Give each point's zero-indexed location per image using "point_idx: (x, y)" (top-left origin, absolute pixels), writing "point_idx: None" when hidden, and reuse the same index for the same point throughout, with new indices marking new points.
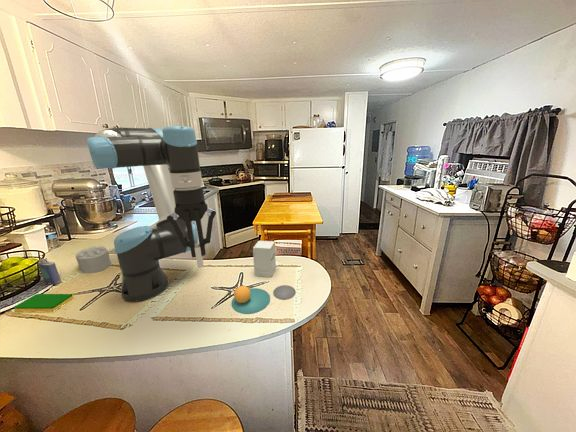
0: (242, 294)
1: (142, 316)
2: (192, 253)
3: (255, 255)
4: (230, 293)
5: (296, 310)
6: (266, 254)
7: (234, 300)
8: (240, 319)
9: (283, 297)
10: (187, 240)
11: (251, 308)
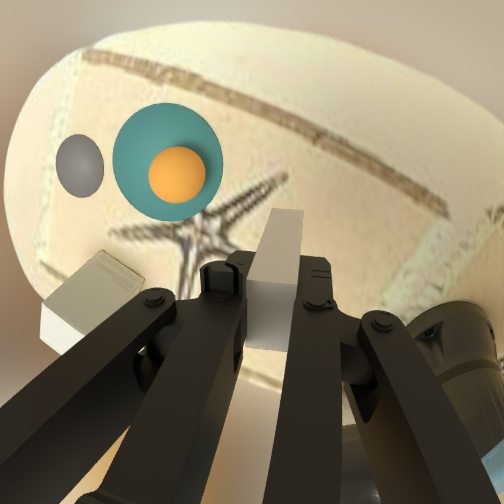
0: (170, 154)
1: (467, 234)
2: (322, 274)
3: (101, 317)
4: (221, 224)
5: (69, 86)
6: (65, 297)
7: (211, 180)
8: (204, 89)
9: (83, 143)
10: (345, 390)
11: (166, 123)
